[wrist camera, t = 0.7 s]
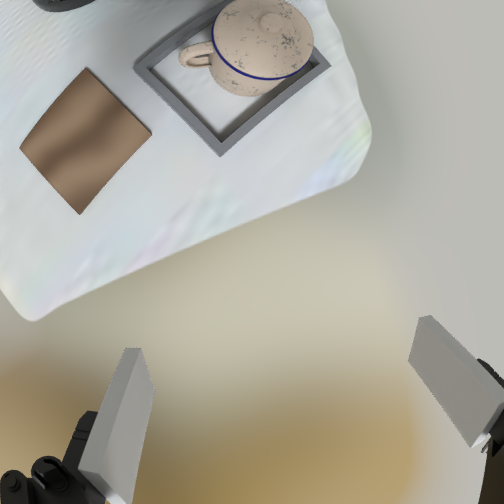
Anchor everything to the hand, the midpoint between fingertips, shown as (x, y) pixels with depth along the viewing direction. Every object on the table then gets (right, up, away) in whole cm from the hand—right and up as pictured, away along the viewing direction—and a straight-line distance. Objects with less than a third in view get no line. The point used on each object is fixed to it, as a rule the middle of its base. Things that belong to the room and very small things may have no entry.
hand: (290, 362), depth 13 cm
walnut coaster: (-21, +17, +15) cm, 31 cm away
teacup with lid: (-4, +26, +16) cm, 31 cm away
